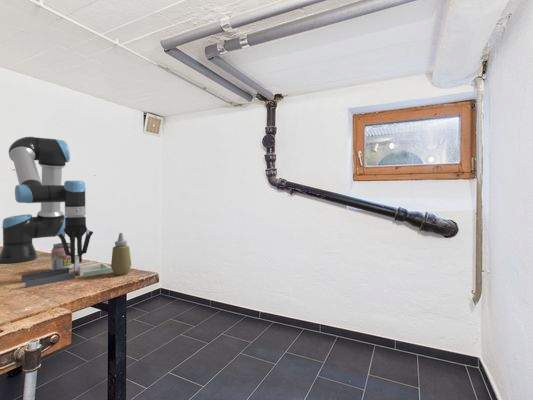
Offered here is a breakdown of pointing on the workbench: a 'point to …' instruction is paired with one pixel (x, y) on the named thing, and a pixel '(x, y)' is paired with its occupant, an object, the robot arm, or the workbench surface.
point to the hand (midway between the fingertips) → (76, 270)
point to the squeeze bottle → (121, 257)
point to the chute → (47, 277)
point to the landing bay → (98, 270)
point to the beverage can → (60, 257)
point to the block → (88, 267)
